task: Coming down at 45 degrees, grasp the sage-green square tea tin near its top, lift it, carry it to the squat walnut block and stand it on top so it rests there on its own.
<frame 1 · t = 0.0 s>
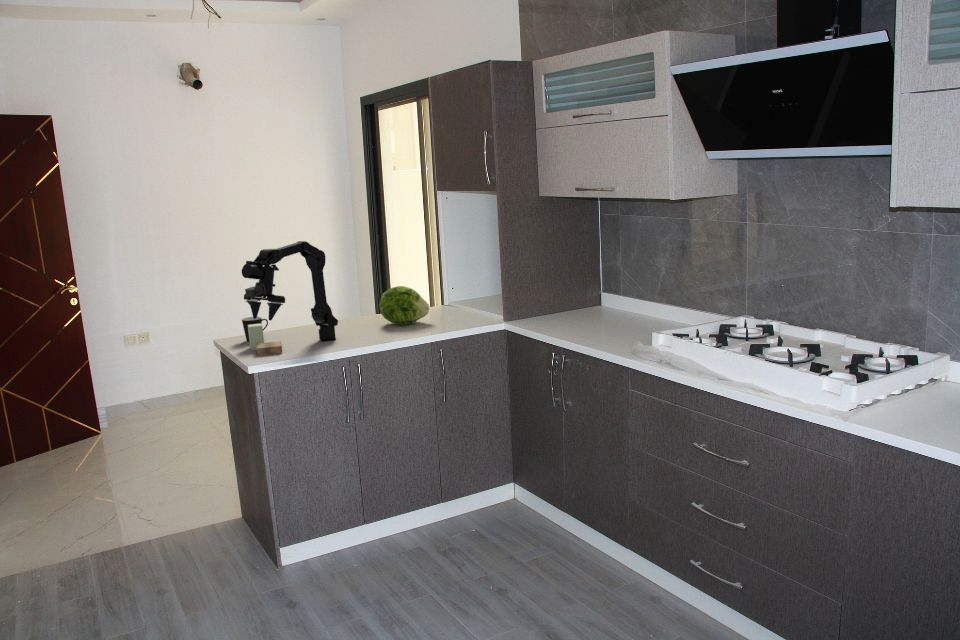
hand: (262, 319, 318), 15 cm above the table, tool pointing down, fingers open, 9 cm apart
tea tin: (257, 348, 339), on the table
walnut block: (269, 352, 330), on the table
lettuce: (406, 323, 375), on the table
coffee mug: (257, 340, 355), on the table
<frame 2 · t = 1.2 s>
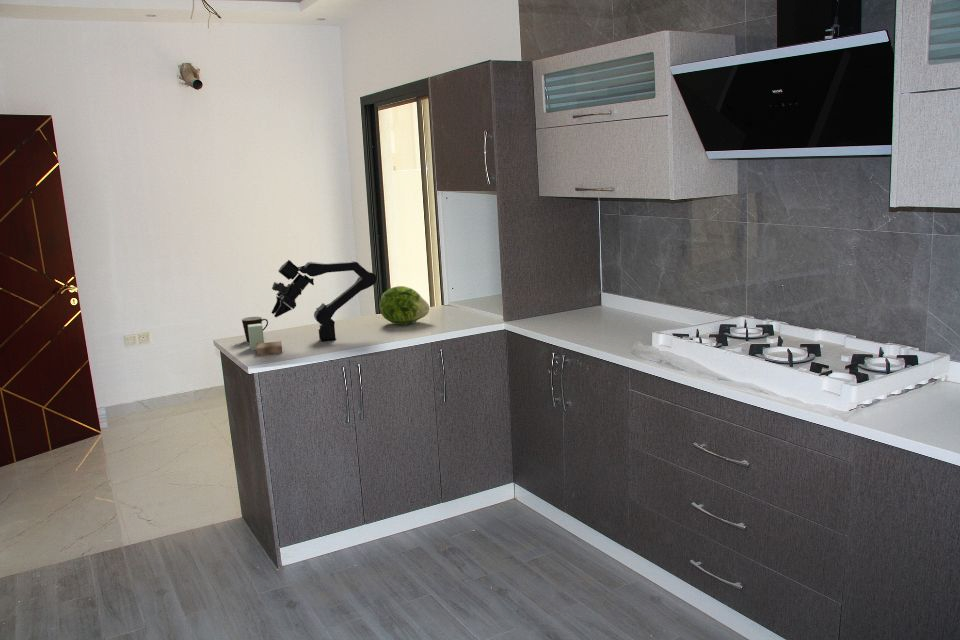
hand: (273, 315, 339), 13 cm above the table, tool tilted 45°, fingers open, 9 cm apart
nothing on the table moved.
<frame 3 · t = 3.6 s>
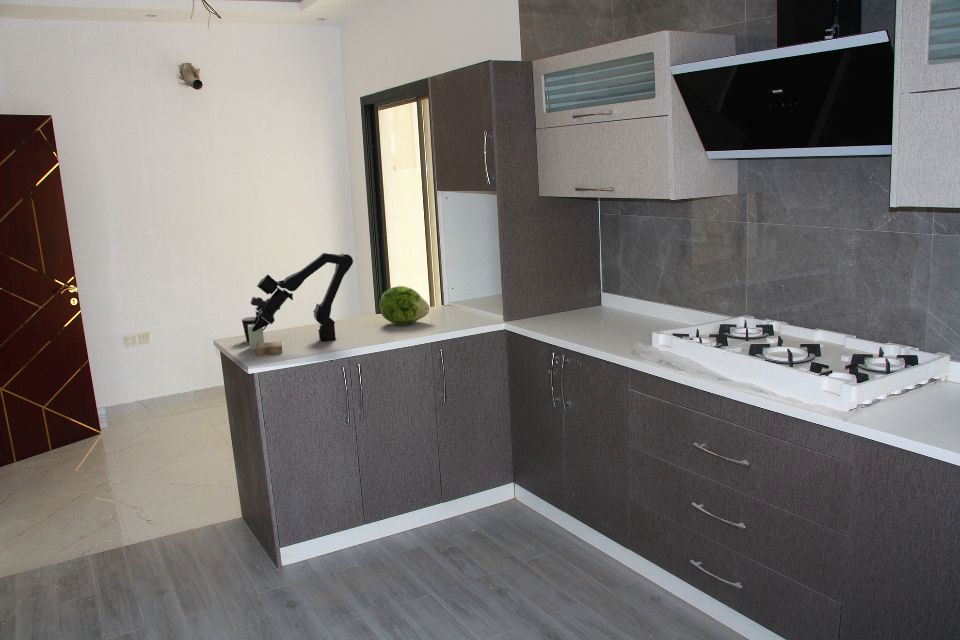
hand: (252, 329, 337), 8 cm above the table, tool tilted 45°, fingers closed on tea tin, 5 cm apart
tea tin: (257, 348, 339), on the table, touching gripper
everything else where it was.
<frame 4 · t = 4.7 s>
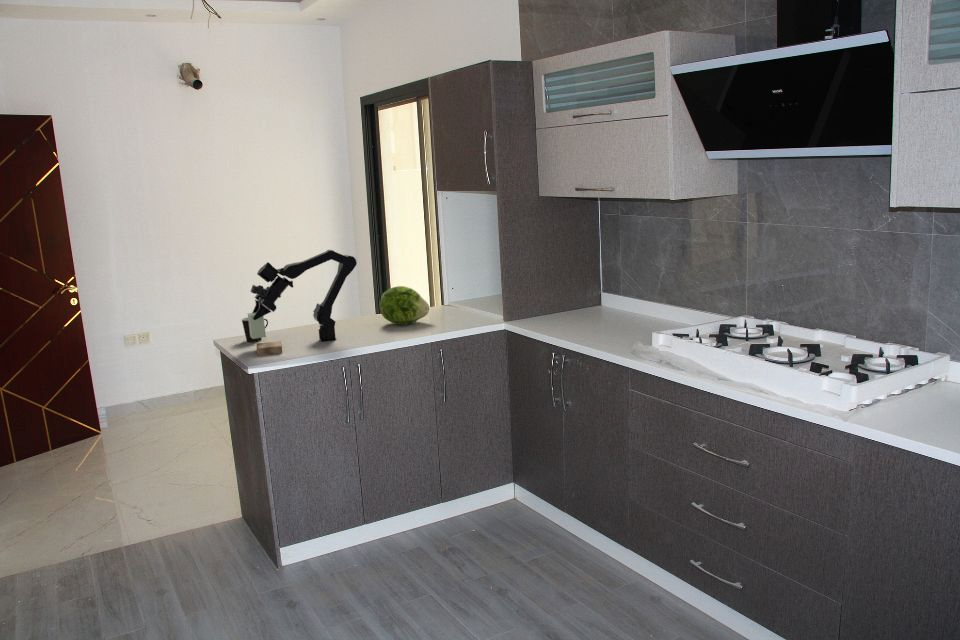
hand: (252, 318, 334), 13 cm above the table, tool tilted 45°, fingers closed on tea tin, 5 cm apart
tea tin: (258, 336, 336), point 5 cm above the table, touching gripper
everything else where it was.
when the fingers open (12 cm above the table, at t = 5.9 s): tea tin drops 1 cm, point 3 cm above the table.
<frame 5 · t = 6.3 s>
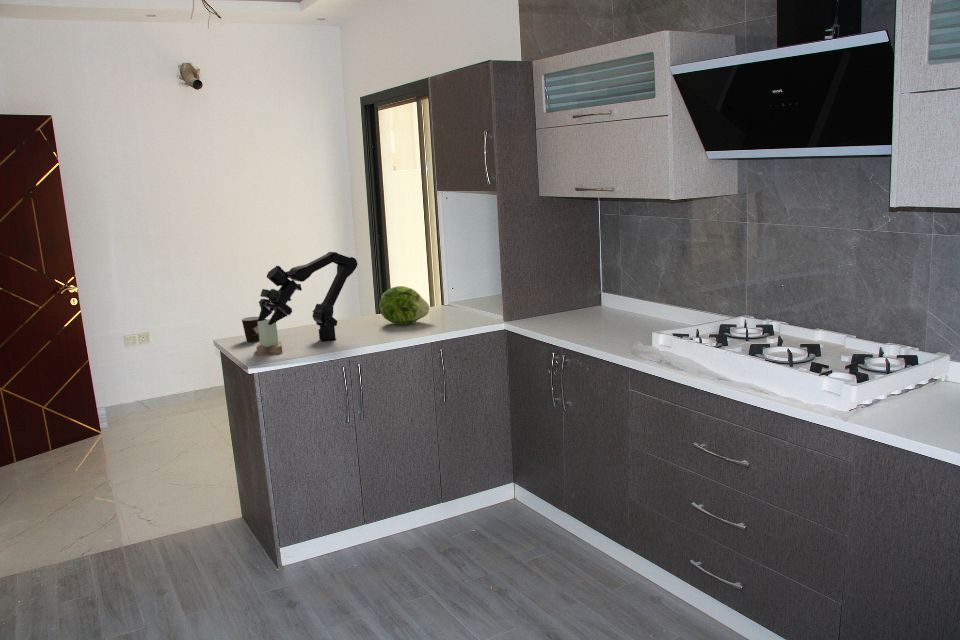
hand: (263, 323, 327), 12 cm above the table, tool tilted 45°, fingers open, 9 cm apart
tea tin: (269, 344, 330), point 3 cm above the table
everything else where it was.
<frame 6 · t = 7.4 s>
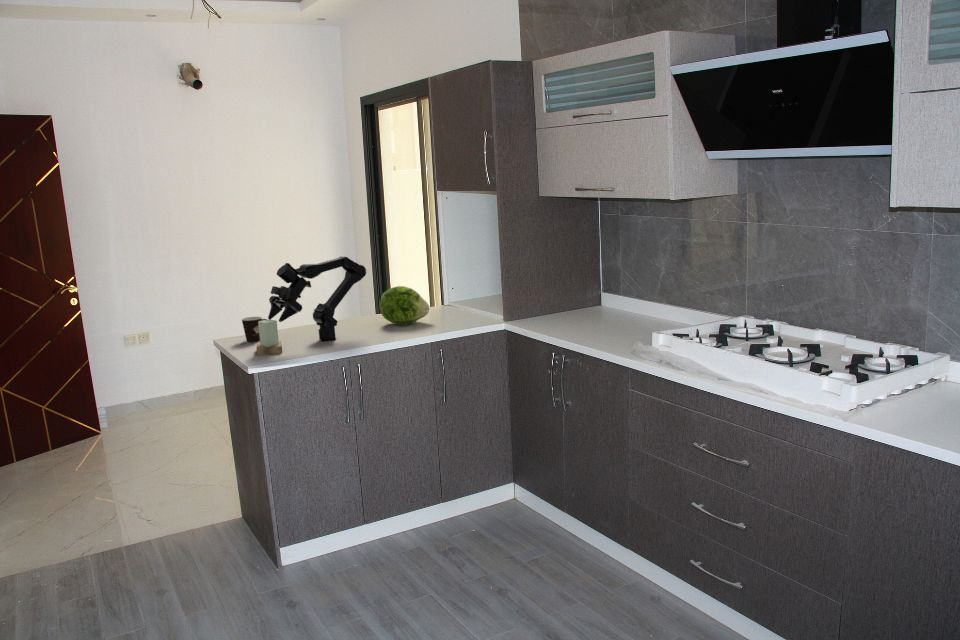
hand: (274, 320, 330), 13 cm above the table, tool tilted 45°, fingers open, 9 cm apart
tea tin: (269, 344, 330), point 3 cm above the table, touching walnut block
walnut block: (269, 353, 330), on the table, touching tea tin
everything else where it was.
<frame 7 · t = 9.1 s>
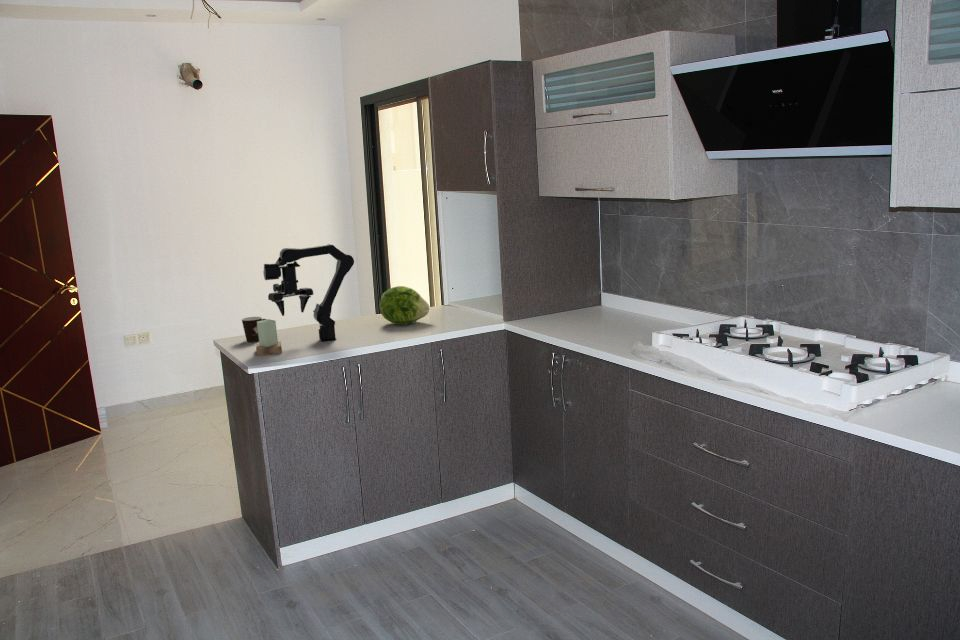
hand: (292, 314, 341), 13 cm above the table, tool pointing down, fingers open, 9 cm apart
tea tin: (269, 344, 330), point 3 cm above the table
walnut block: (269, 353, 330), on the table
everything else where it was.
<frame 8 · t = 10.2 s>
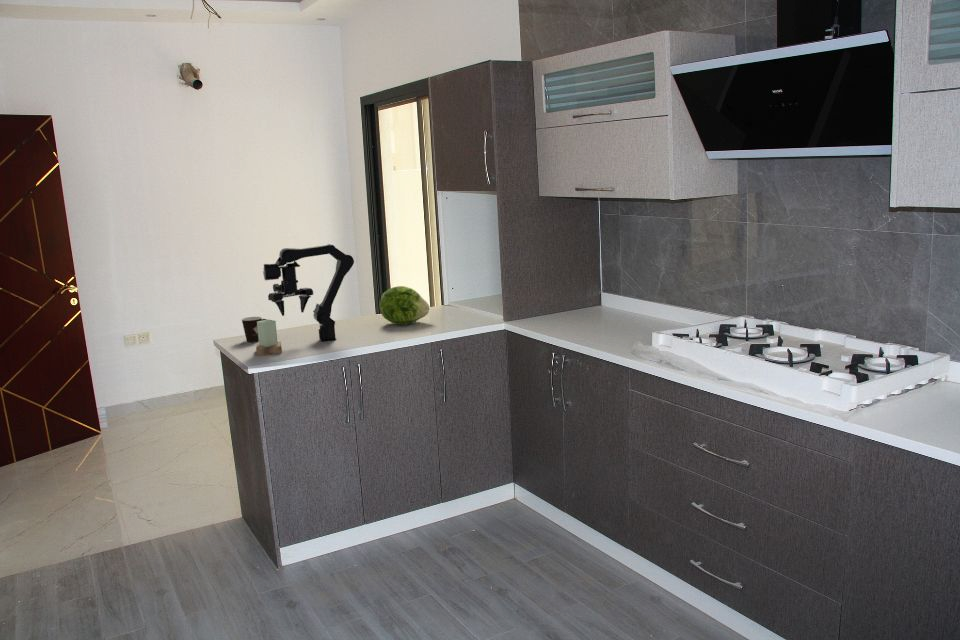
hand: (292, 314, 341), 13 cm above the table, tool pointing down, fingers open, 9 cm apart
tea tin: (268, 344, 330), point 3 cm above the table, touching walnut block
walnut block: (269, 353, 330), on the table, touching tea tin
everything else where it was.
at the end: tea tin inside the target area on the walnut block (0.2 cm from its centre), point 3.5 cm above the walnut block's base; tea tin tilted 1°; tea tin touching walnut block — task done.
